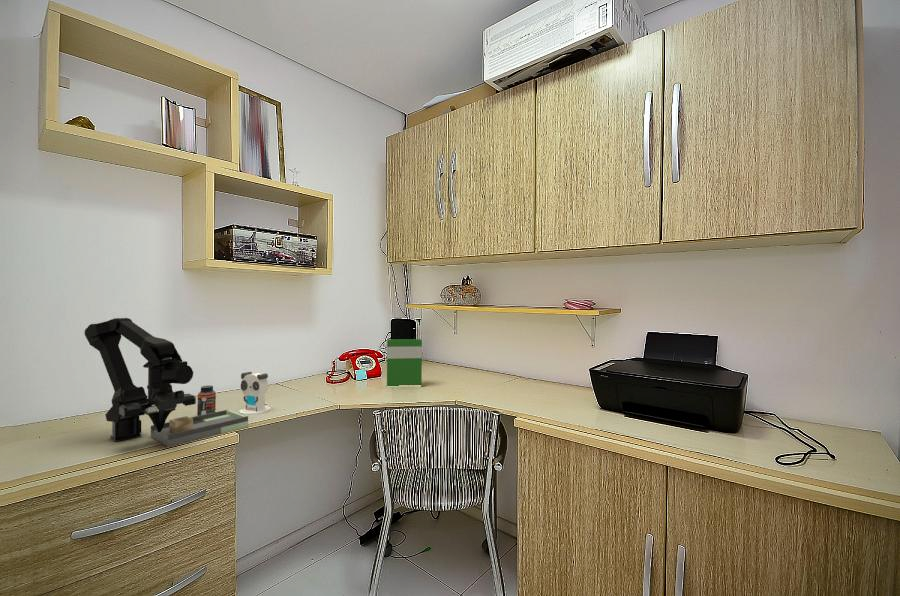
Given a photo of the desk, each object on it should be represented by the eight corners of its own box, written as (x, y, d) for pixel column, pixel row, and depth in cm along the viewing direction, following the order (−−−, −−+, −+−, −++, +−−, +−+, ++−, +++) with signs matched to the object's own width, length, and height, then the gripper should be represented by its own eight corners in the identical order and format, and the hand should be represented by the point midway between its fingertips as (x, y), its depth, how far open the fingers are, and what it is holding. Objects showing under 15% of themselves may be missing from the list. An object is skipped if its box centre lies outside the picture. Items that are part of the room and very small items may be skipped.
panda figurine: (231, 411, 157) (232, 374, 157) (256, 405, 167) (257, 369, 167) (252, 415, 152) (252, 376, 152) (276, 408, 162) (277, 372, 162)
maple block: (175, 433, 125) (175, 422, 125) (169, 430, 128) (169, 419, 128) (193, 429, 129) (193, 418, 129) (186, 426, 132) (186, 416, 132)
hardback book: (420, 384, 211) (420, 339, 211) (421, 387, 204) (421, 340, 204) (387, 384, 209) (387, 339, 209) (386, 388, 201) (387, 340, 201)
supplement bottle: (206, 418, 148) (207, 388, 148) (193, 417, 149) (193, 387, 149) (219, 414, 154) (219, 385, 154) (206, 413, 155) (206, 384, 155)
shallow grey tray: (168, 446, 120) (168, 435, 120) (150, 436, 128) (150, 425, 128) (248, 426, 139) (248, 416, 139) (227, 418, 148) (227, 409, 148)
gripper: (130, 391, 112) (130, 446, 112) (203, 380, 127) (202, 429, 127) (118, 385, 118) (118, 438, 118) (189, 376, 133) (188, 422, 133)
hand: (159, 431), depth 124 cm, fingers closed
